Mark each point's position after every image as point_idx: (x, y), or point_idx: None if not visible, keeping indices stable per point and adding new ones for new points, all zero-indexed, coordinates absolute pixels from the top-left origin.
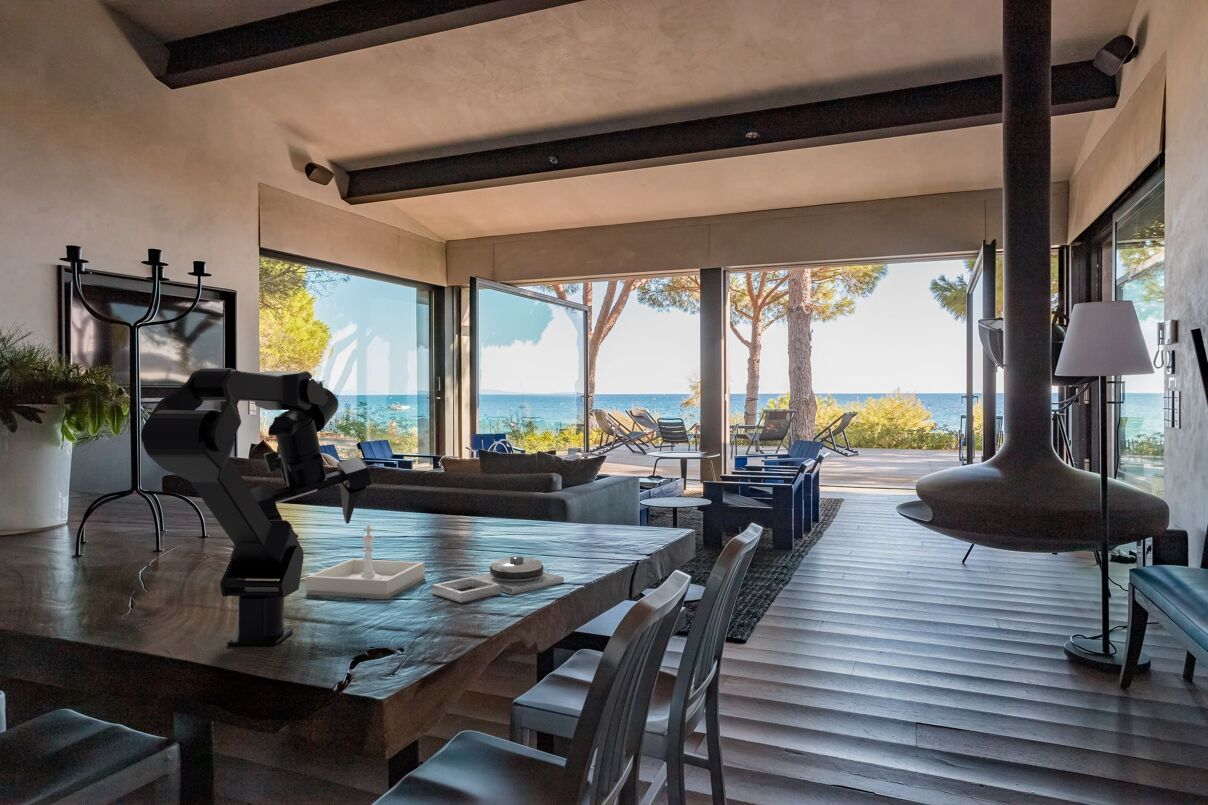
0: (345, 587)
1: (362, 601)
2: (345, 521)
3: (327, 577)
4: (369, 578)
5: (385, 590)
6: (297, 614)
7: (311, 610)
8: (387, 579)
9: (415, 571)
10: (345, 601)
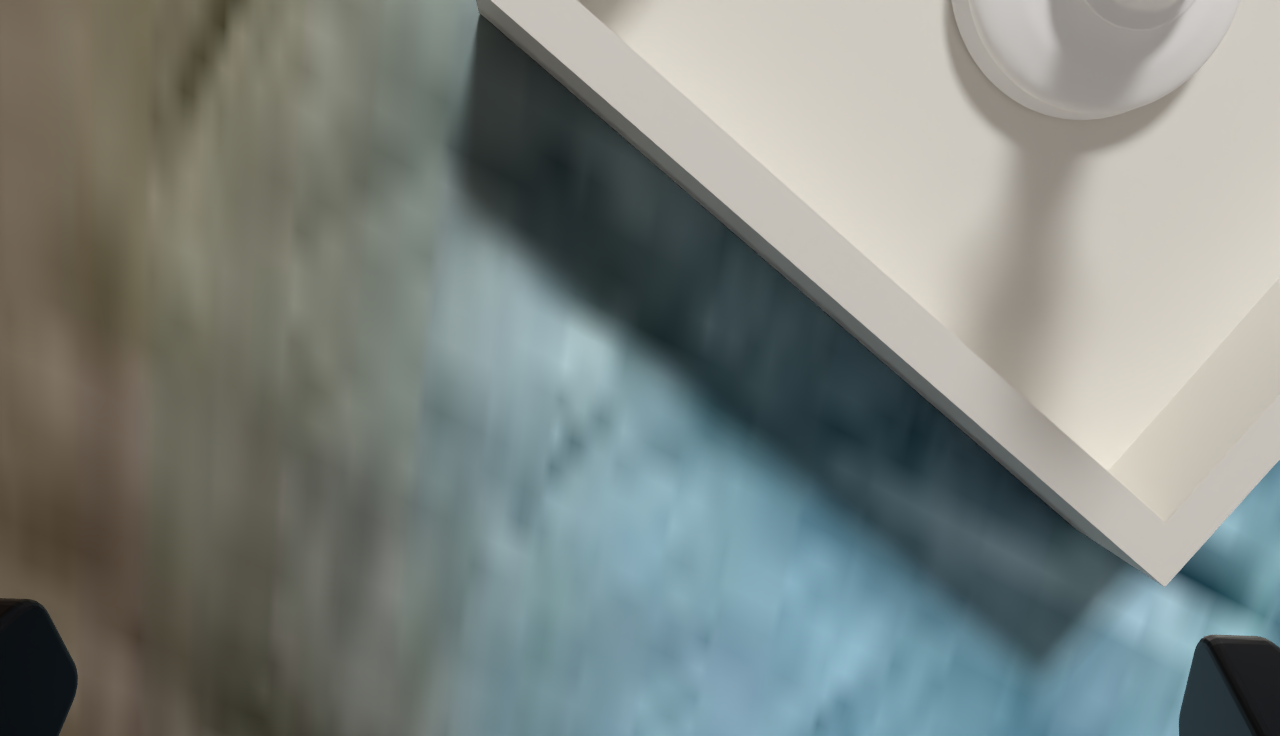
0: (815, 295)
1: (885, 499)
2: (1197, 684)
3: (680, 151)
4: (1103, 80)
5: (1103, 544)
6: (341, 671)
7: (459, 599)
8: (1186, 526)
9: None
10: (761, 436)
